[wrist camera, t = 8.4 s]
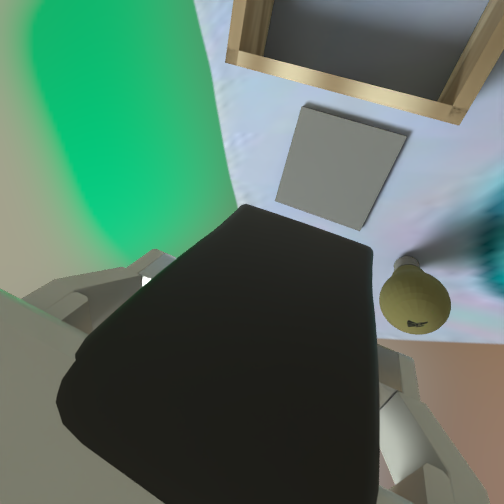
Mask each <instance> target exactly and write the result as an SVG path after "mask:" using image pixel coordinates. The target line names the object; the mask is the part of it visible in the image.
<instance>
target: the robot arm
mask: <svg viewBox="0 0 504 504" xmlns="http://www.w3.org/2000/svg"><path fill="white" fill-rule="evenodd" d="M175 259H177V258H176V257H174V256H171V255H169V254H167V253H164V252H162V251H160V250H158V249H152V250H151V251H149V252H148V253H146V254H145V255H144V256H142V257H141V258H140V259H138V260H137V261H135V262H134V263H132V264H131V265H130V266H128V267H127V268H124V267H119V268H114V269H108V270H103V271H97V272H92V273H86V274H81V275H75V276H70V277H65V278H59V279H54V280H52V281H51V282H49V283H47V284H46V285H44V286H42V287H41V288H39V289H37V290H36V291H34V292H32V293H30V294H29V295H27V296H26V297H24V298H22V299H19V298H17V297H16V296H14V295H12V294H10V293H8V292H6V291H4V290H2V289H0V504H164V503H163V502H162V501H160V500H159V499H157V498H156V497H155V496H153V495H152V494H151V493H149V492H148V491H146V490H145V489H144V488H142V487H141V486H139V485H138V484H137V483H135V482H134V481H133V480H131V479H130V478H128V477H127V476H126V475H124V474H123V473H122V472H120V471H119V470H117V469H116V468H115V467H113V466H112V465H110V464H109V463H108V462H106V461H105V460H104V459H102V458H101V457H99V456H98V455H97V454H95V453H94V452H93V451H91V450H90V449H88V448H87V447H86V446H84V445H83V444H82V443H81V442H80V441H79V440H78V439H77V438H76V437H75V436H74V435H73V434H72V433H71V432H70V431H69V430H68V429H67V428H66V427H65V426H64V425H63V424H62V420H61V417H60V414H59V411H58V408H57V405H56V397H57V393H58V390H59V387H60V384H61V381H62V379H63V377H64V376H65V374H66V373H67V371H68V370H69V369H70V367H71V366H72V364H73V363H74V362H75V360H76V359H75V353H76V352H77V350H78V349H79V347H80V346H81V344H82V342H83V341H84V339H85V338H86V337H87V336H88V335H89V334H90V333H91V332H92V331H93V330H95V329H96V328H97V327H98V326H99V325H100V324H101V323H102V322H103V321H104V320H105V319H107V318H108V317H109V316H110V315H111V314H112V313H113V312H114V311H115V310H117V309H118V308H119V307H120V306H121V305H122V304H123V303H124V302H125V301H127V300H128V299H129V298H130V297H131V296H132V295H133V294H135V293H136V292H137V291H138V290H139V289H140V288H141V287H143V286H144V285H145V284H146V283H147V282H148V281H150V280H151V279H152V278H153V277H154V276H156V275H157V274H158V273H159V272H160V271H162V270H163V269H164V268H165V267H167V266H168V265H169V264H170V263H172V262H173V261H174V260H175ZM377 349H378V364H379V389H380V449H381V452H382V454H383V456H384V459H385V461H386V464H387V466H388V468H389V471H390V473H391V476H392V478H393V481H394V483H395V486H393V487H392V488H390V489H389V490H388V489H386V488H384V487H382V486H380V485H379V492H378V497H377V503H376V504H490V501H489V498H488V494H487V491H486V489H485V488H484V487H483V485H482V484H481V482H480V481H479V480H478V478H477V477H476V475H475V474H474V472H473V471H472V470H471V468H470V467H469V465H468V464H467V462H466V461H465V459H464V458H463V457H462V455H461V454H460V453H459V451H458V450H457V448H456V447H455V445H454V444H453V442H452V441H451V440H450V438H449V437H448V435H447V434H446V432H445V431H444V430H443V428H442V427H441V425H440V424H439V422H438V421H437V420H436V418H435V417H434V415H433V414H432V412H431V411H430V410H429V408H428V407H427V405H426V404H425V403H423V402H421V401H420V395H419V389H418V383H417V377H416V371H415V364H414V360H413V359H412V358H411V357H409V356H406V355H404V354H401V353H399V352H395V351H393V350H390V349H388V348H386V347H384V346H381V345H379V344H377Z"/></svg>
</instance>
